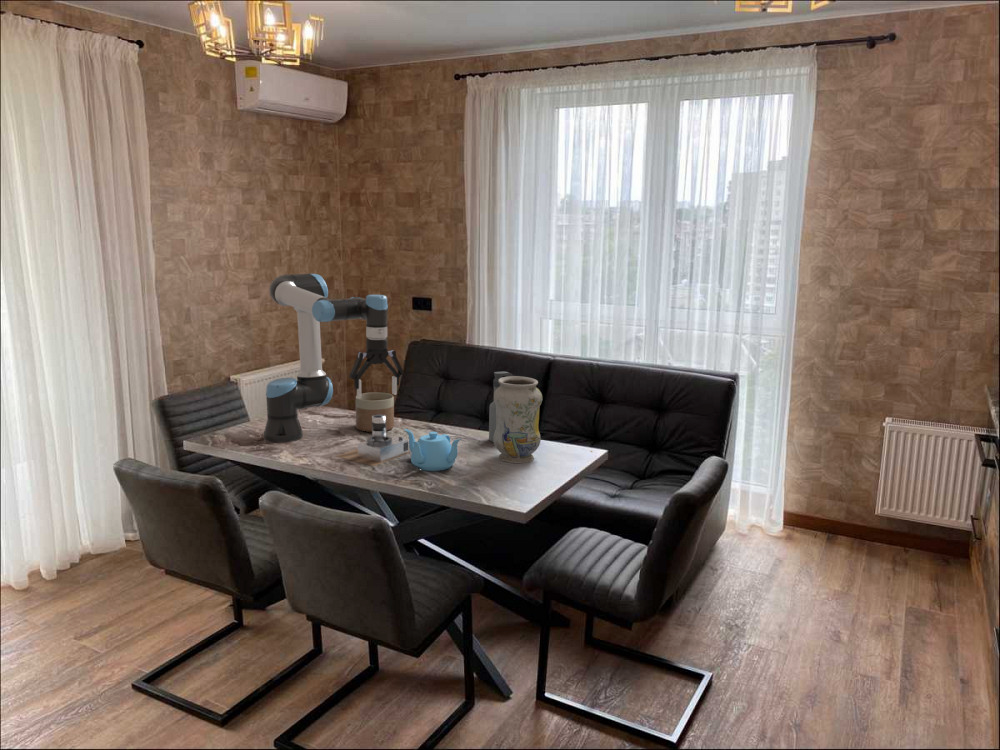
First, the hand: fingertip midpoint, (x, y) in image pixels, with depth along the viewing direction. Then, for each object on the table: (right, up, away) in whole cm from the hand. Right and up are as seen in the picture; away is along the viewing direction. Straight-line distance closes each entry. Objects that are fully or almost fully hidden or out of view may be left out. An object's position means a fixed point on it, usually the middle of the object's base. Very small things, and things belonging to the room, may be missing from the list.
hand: (377, 395), depth 274 cm
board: (-2, -23, +4) cm, 23 cm away
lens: (+1, -17, +1) cm, 17 cm away
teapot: (+20, -25, -4) cm, 32 cm away
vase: (+51, -24, +6) cm, 57 cm away
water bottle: (+45, -19, +30) cm, 58 cm away
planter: (-8, -15, +45) cm, 48 cm away
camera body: (+2, -22, +4) cm, 22 cm away
